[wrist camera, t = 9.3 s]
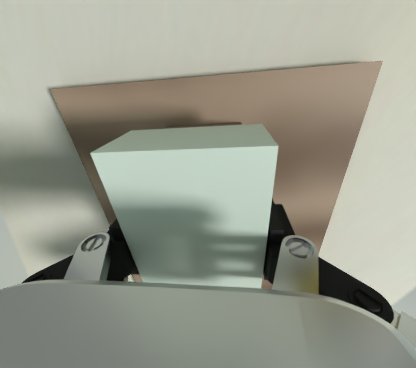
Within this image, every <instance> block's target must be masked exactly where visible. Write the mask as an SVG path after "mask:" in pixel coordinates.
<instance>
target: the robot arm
mask: <svg viewBox="0 0 416 368" xmlns="http://www.w3.org/2000/svg"><path fill="white" fill-rule="evenodd" d="M130 274H138V275H139V274H140V273H139V271H138V269H137V266H136V264H135V261H134V259H133V256H132V254H131V251H130V249H129V247H128V244H127V242H126V239H125V237H124V234H123V232H122V230H121V227H120V225H119V222H118V220H117V218H116V220H115V221H114V222H113V223H112V225H111V226H110V227H109V231H108V232H107V233H106V232H98V233H94V234H92V235H90V236H88V237H86V238H85V239H83V240H82V241H81V242H80V244H79V245H78V247H77V249H76V252H75V254H74V255H72V256H70V257H68V258H66V259H63V260H61V261H59V262H57V263H55V264H53V265H51V266H49V267H47V268H45V269H43V270H41V271H39V272H37V273H35V274H33V275H32V276H30V277H29V278H27V279H26V280H25V281H23V282H22V283H21V284H17V285H14V286H11V287H7V288H4V289H1V290H0V368H416V319H414V318H412V317H410V316H409V315H407V314H406V313H404V312H401V313H400V314H399V313H398V312H396V311H394V310H393V309H392V307H391V306H390V304H389V303H388V301H387V300H386V299H385V298H384V297H383V296H382V295H381V294H380V293H378V292H377V291H375V290H374V289H372V288H371V287H369V286H367V285H366V284H364V283H362V282H361V281H359V280H357V279H355V278H354V277H352V276H350V275H349V274H347V273H345V272H343V271H342V270H340V269H338V268H337V267H335V266H333V265H332V264H330V263H328V262H326V261H325V260H323V259H321V258H320V257H318V249H317V247H316V246H315V244H314V243H313V242H311V241H310V240H308V239H307V238H305V237H302V236H297V235H295V233H294V230H293V228H292V226H291V223H290V221H289V219H288V216H287V214H286V212H285V209H284V207H283V205H282V204H275V203H274V201H273V198H272V203H271V212H270V220H269V228H268V236H267V244H266V252H265V260H264V269H263V275H264V280H268V281H269V282H270V283H271V284H272V285H273V287H272V289H260V288H244V287H226V286H207V285H188V284H168V283H148V282H128V276H129V275H130Z"/></svg>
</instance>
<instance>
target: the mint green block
mask: <svg viewBox="0 0 416 368" xmlns="http://www.w3.org/2000/svg"><path fill="white" fill-rule="evenodd" d="M90 154H91V156H92V159H93V161H94V164H95V166H96V169H97V171H98V174H99V176H100V178H101V181H102V183H103V186H104V188H105V191H106V193H107V195H108V198H109V200H110V203H111V205H112V208H113V210H114V212H115V215H116V217H117V220H118V222H119V225H120V227H121V230H122V232H123V234H124V237H125V239H126V242H127V244H128V247H129V249H130V251H131V254H132V256H133V259H134V261H135V264H136V266H137V269H138V271H139V273H140V276H141V278H142V281H143V282H148V283H168V284H188V285H207V286H226V287H244V288H260V289H261V285H262V277H263V269H264V260H265V252H266V244H267V236H268V228H269V220H270V212H271V203H272V195H273V187H274V179H275V171H276V163H277V155H278V144H277V143H276V142H275V140H274V139H273V138H272V136H271V135H270V134H269V132H268V131H267V130H266V128H265V127H264V126H263V124H246V125H226V126H207V127H188V128H169V129H150V130H131V131H129V132H128V133H126V134H124V135H122V136H120V137H118V138H117V139H115V140H113V141H111V142H109V143H107V144H106V145H104V146H102V147H100V148H98V149H97V150H95V151H93V152H91V153H90Z"/></svg>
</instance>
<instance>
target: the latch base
mask: <svg viewBox="0 0 416 368" xmlns="http://www.w3.org/2000/svg"><path fill="white" fill-rule="evenodd" d="M382 62H383V61H375V62H364V63H352V64H340V65H328V66H316V67H305V68H293V69H281V70H269V71H258V72H246V73H234V74H222V75H210V76H199V77H187V78H175V79H163V80H152V81H140V82H128V83H116V84H104V85H93V86H81V87H69V88H57V89H50V91H51V93H52V95H53V97H54V100H55V102H56V104H57V106H58V109H59V111H60V113H61V115H62V118H63V120H64V122H65V124H66V127H67V129H68V131H69V133H70V136H71V138H72V140H73V142H74V145H75V147H76V149H77V151H78V154H79V156H80V158H81V160H82V163H83V165H84V167H85V169H86V172H87V174H88V176H89V178H90V181H91V183H92V185H93V187H94V190H95V192H96V194H97V196H98V199H99V201H100V203H101V205H102V208H103V210H104V212H105V214H106V217H107V219H108V221H109V223H110V226H111V225H112V223H113V222H114V221H115V220H116V218H117V217H116V215H115V212H114V210H113V208H112V205H111V203H110V200H109V198H108V195H107V193H106V191H105V188H104V186H103V183H102V181H101V178H100V176H99V174H98V171H97V169H96V166H95V164H94V161H93V159H92V156H91V154H90V153H91V152H93V151H95V150H97V149H98V148H100V147H102V146H104V145H106V144H107V143H109V142H111V141H113V140H115V139H117V138H118V137H120V136H122V135H124V134H126V133H128V132H129V131H131V130H150V129H169V128H188V127H207V126H226V125H246V124H263V126H264V127H265V128H266V130H267V131H268V132H269V134H270V135H271V136H272V138H273V139H274V140H275V142H276V143H277V144H278V155H277V163H276V171H275V179H274V187H273V195H272V198H273V201H274V203H275V204H282V205H283V207H284V209H285V212H286V214H287V216H288V219H289V221H290V223H291V226H292V228H293V230H294V233H295V235H297V236H302V237H305V238H307V239H308V240H310V241H311V242H313V243H314V244H315V246H316V247H317V249H318V254H319V251H320V248H321V245H322V242H323V239H324V236H325V233H326V230H327V227H328V224H329V221H330V218H331V215H332V212H333V209H334V206H335V203H336V200H337V197H338V194H339V191H340V188H341V185H342V182H343V179H344V176H345V173H346V170H347V167H348V164H349V161H350V158H351V155H352V152H353V149H354V146H355V143H356V140H357V137H358V134H359V131H360V128H361V125H362V122H363V119H364V116H365V113H366V110H367V107H368V104H369V101H370V98H371V95H372V92H373V89H374V86H375V83H376V80H377V77H378V74H379V71H380V68H381V65H382ZM132 275H133V278H134V280H135V282H143V281H142V278H141V276H140V274H139V275H138V274H132ZM272 287H273V285H272V284H271V283H270V282H269V281H268V280H264V275H263V277H262V285H261V289H272Z"/></svg>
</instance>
